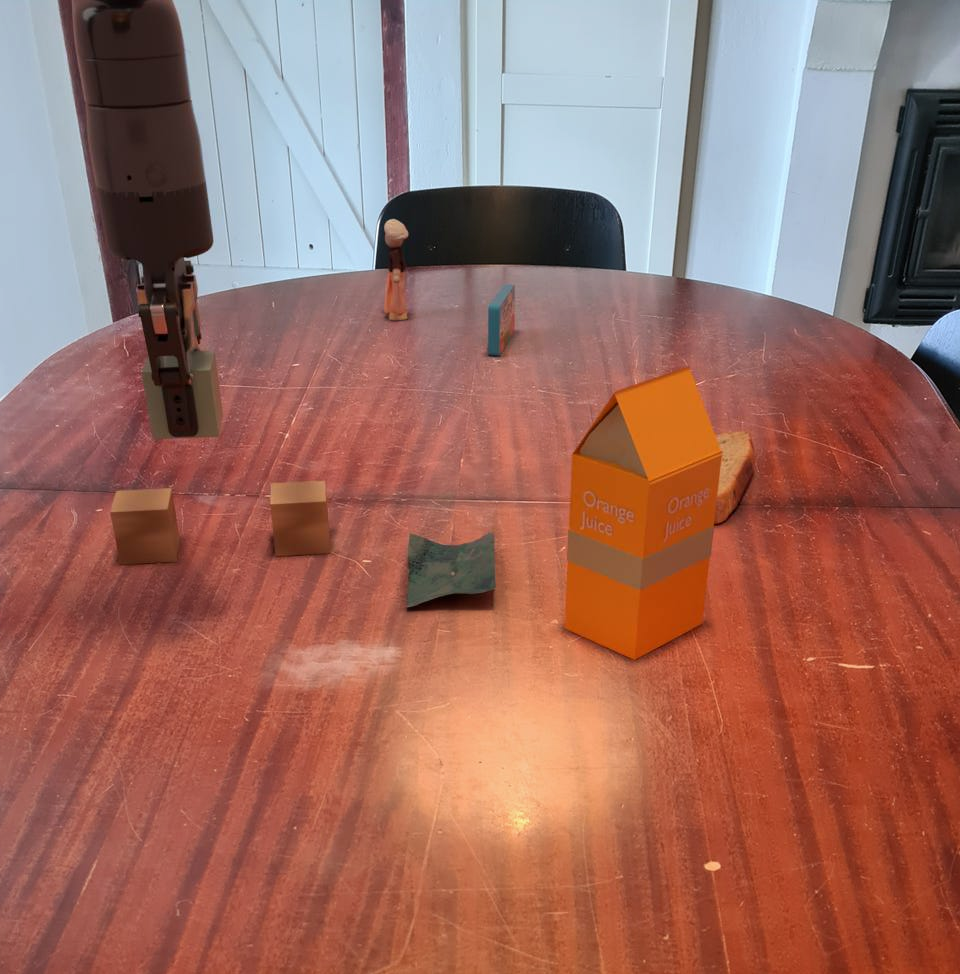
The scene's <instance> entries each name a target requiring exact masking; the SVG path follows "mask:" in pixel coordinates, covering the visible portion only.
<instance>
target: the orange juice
mask: <svg viewBox="0 0 960 974" xmlns="http://www.w3.org/2000/svg"><path fill="white" fill-rule="evenodd" d="M690 367H691V365H687V366H685V367H681V368H678V369H676V370H673V371H669V372H667V373H665V374H662V375H658V376H656V377H652V378H650V379H647V380H644V381H642V382H638V383H635V384H633V385H629V386H627V387H624V388H621V389H618V390H615V391H614V392H613V394H612V395H611V397H610V398H609V400H608V401H607V403H606V404H605V406H604V407H603V409H602V410H601V412H600V413H599V414H598V415H597V417H596V418H595V420H594V422H593V423H592V424H591V426H590V427H589V429H588V431H586V433H585V435H584V436H583V438H582V439H581V440H580V442H579V443H578V444H577V446H576V448H575V449H574V451H573V452H572V453H571V471H570V472H571V473H570V491H569V492H570V495H569V517H568V519H569V520H568V522H569V523H568V529H567V544H566V545H567V546H566V561H567V563H566V586H565V587H566V589H565V608H564V609H565V612H564V629H566V630H568V631H569V632H571V633H574V634H576V635H578V636H580V637H583V638H585V639H587V640H590V641H592V642H594V643H596V644H598V645H601V646H603V647H604V648H607V649H609V650H612V651H614V652H616V653H617V654H621V655H622V656H625V657H627V658H629V659H631V660H634V661H636V660H637V659H639V658H641V657H643V656H644V655H647V654H648V653H650V652H652V651H654V650H656V649H658V648H659V647H661V646H664V645H665V644H667V643H669V642H671V641H673V640H674V639H677V638H678V637H680V636H682V635H684V634H686V633H687V632H690V631H692V630H693V629H696V628H697V627H699V626H701V625H702V624H703V618H704V612H705V611H704V609H705V601H706V594H707V586H708V585H707V584H708V576H709V568H710V562H711V561H710V560H711V559H710V558H711V557H712V548H713V541H714V532H715V524H714V518H715V510H716V502H717V493H718V485H719V476H720V468H721V460H722V455H723V454H722V451H723V450H721V449H720V446H719V444H718V441H717V438H716V436H715V435H716V433H715V431H714V428H713V426H712V422H711V419H710V418H709V414H708V412H707V409H706V407H705V405H704V402H703V398H702V396H701V394H700V392H699V389H698V386H697V384H696V381H695V378H694V376H693V373H692V370H691V368H690Z"/></svg>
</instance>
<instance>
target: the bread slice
mask: <svg viewBox="0 0 960 974" xmlns="http://www.w3.org/2000/svg"><path fill="white" fill-rule="evenodd" d="M715 436H716V438H717V441H718V444H719V446H720V449H721V450H723V451H722V454H723V455H722V460H721V468H720V476H719V485H718V493H717V502H716V510H715V518H714V525H717V524H721V523H723V522H724V521H726V520H727V519H728V517H729V515H731V514H732V512H733V511H734V510H735V509H737V507H738V504H739V502H740V501H741V499H742V495H743V493H744V492H745V489H746V487H747V485H748V483H749V481H750V479H751V477H752V474H753V471H754V468H755V465H756V460H757V457H756V452H755V446H754V443H753V439H752V436H751V434H750V432H749V430H747V429H744V430H734V431H732V432H723V433H720V434H715Z"/></svg>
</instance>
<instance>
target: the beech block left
mask: <svg viewBox="0 0 960 974" xmlns="http://www.w3.org/2000/svg"><path fill="white" fill-rule="evenodd" d="M174 499H175V498H174V493H173V488H172V487H163V488H146V489H145V488H144V489H143V488H142V489H125V490H124V489H123V490H122V489H121V490H116V491H115V494H114V497H113V499H112V500H113V501H112V504H111V508H110V511H109V515H110V520H111V525H112V529H113V530H112V531H113V536H114V540H115V545H116V550H117V551H116V552H117V555H118V561H119V565H120V566H121V565H139V564H158V563H174V562H175V563H176V562H177V558H178V553H179V547H180V541H181V537H180V531H179V524H178V518H177V512H176V505H175V500H174Z"/></svg>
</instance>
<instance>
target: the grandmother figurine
mask: <svg viewBox="0 0 960 974" xmlns="http://www.w3.org/2000/svg"><path fill="white" fill-rule="evenodd" d="M383 227H384V228H383V229H384V233H385V234H384V241H385V243H386V245H387V246H388V247H389V249H388V274H387V279H386V286H385V293H384V306H383V307H384V308H383V312H384V313H387V314H388V320H389V321H406V320H408V318H409V316H408V315H409V312H408V310H407V309H406V307H407V303H406V302H407V299H406V294H405V293H406V292H405V285H406V260H405V254H404V250H403V248H402V247H401V246H402V245H403V243H404V240H406V239H407V238H408V237H409V231H408V230H407V227H406V226H405V224H404V223H402V222H401V221H399V220H397V219H395V218H392V219H389V220H387V221H386V222H385V223H384V226H383Z"/></svg>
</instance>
